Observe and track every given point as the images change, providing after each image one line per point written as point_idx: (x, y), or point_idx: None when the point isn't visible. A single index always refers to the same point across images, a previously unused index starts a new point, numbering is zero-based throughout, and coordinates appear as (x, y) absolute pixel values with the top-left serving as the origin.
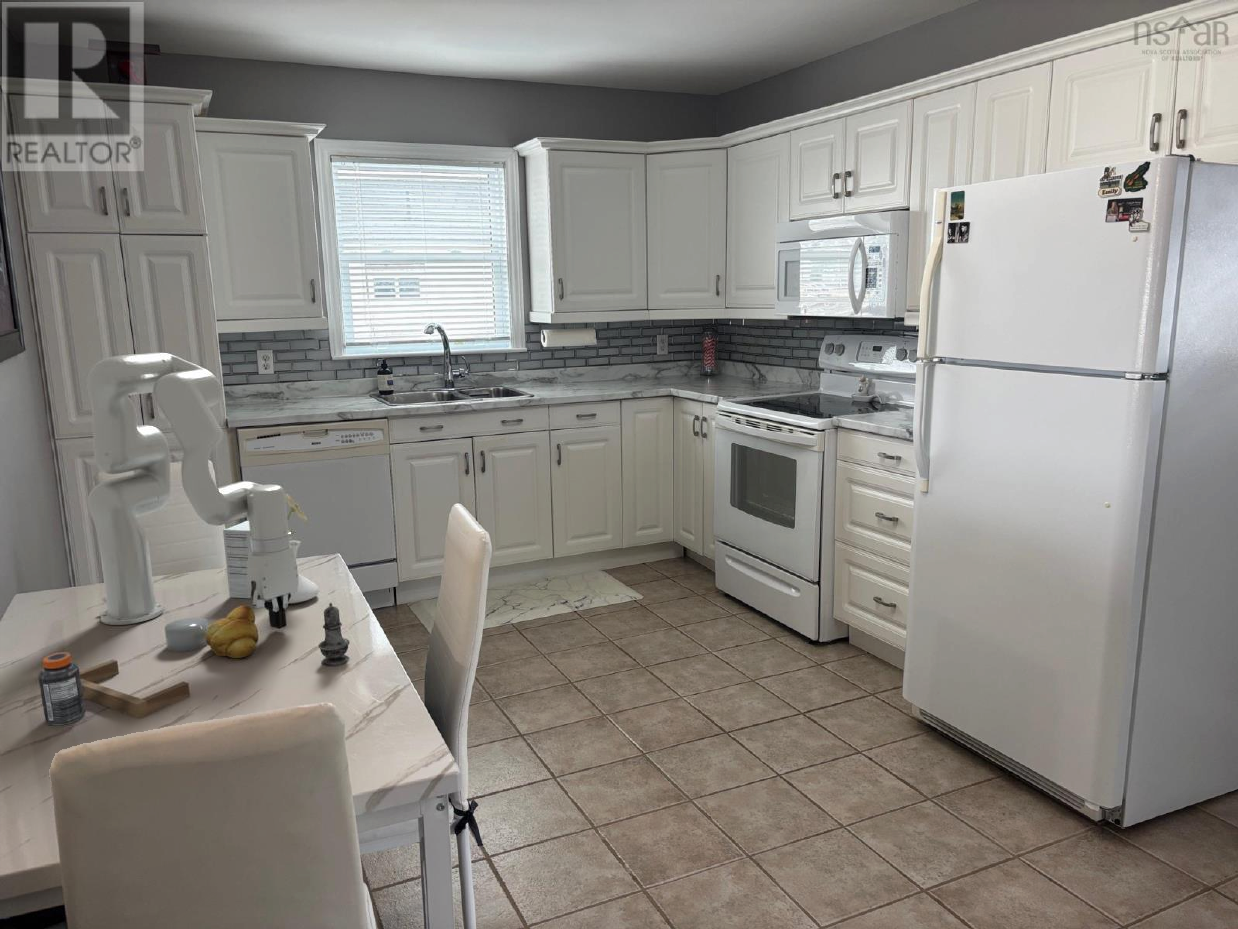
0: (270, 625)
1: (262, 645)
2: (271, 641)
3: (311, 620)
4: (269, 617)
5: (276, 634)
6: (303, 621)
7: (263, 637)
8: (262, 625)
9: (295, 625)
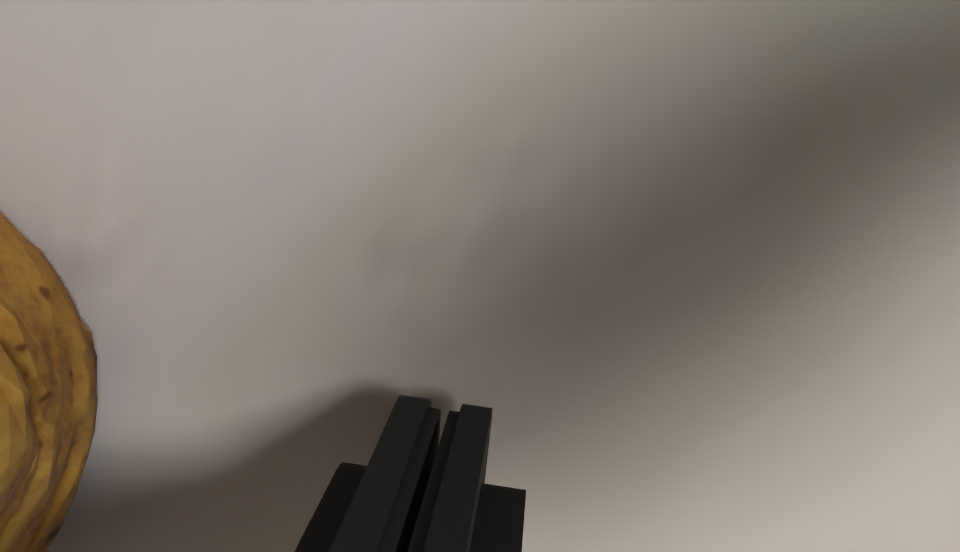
0: (397, 399)
1: (135, 511)
2: (236, 524)
3: (856, 539)
4: (310, 525)
5: None
6: (805, 482)
7: (263, 396)
8: (534, 108)
9: (665, 477)
